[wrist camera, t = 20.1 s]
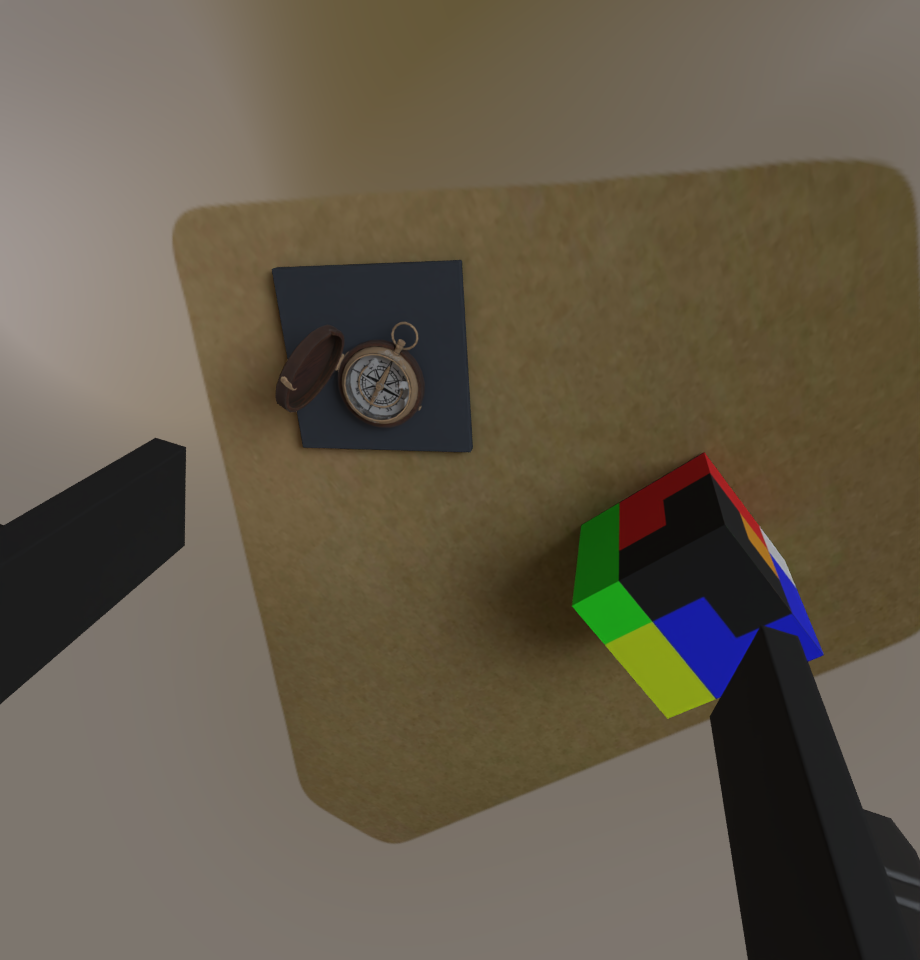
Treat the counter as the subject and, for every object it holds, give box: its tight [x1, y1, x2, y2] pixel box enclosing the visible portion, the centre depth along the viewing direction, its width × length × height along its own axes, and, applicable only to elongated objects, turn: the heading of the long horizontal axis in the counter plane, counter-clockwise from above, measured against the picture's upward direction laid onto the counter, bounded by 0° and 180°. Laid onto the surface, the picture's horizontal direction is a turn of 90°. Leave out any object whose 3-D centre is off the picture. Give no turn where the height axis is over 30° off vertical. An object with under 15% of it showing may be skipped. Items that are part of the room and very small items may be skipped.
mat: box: [272, 260, 473, 452], centre depth 45 cm, size 13×13×1 cm
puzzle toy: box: [572, 453, 824, 719], centre depth 42 cm, size 10×10×10 cm
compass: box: [276, 322, 425, 428], centre depth 42 cm, size 8×8×7 cm
